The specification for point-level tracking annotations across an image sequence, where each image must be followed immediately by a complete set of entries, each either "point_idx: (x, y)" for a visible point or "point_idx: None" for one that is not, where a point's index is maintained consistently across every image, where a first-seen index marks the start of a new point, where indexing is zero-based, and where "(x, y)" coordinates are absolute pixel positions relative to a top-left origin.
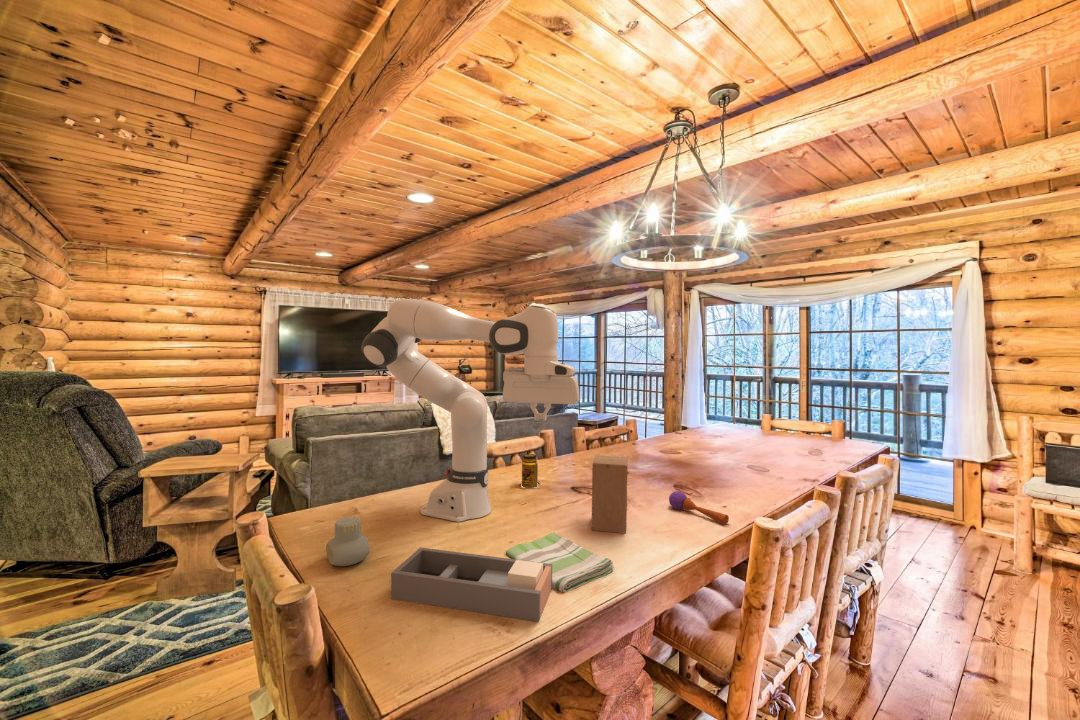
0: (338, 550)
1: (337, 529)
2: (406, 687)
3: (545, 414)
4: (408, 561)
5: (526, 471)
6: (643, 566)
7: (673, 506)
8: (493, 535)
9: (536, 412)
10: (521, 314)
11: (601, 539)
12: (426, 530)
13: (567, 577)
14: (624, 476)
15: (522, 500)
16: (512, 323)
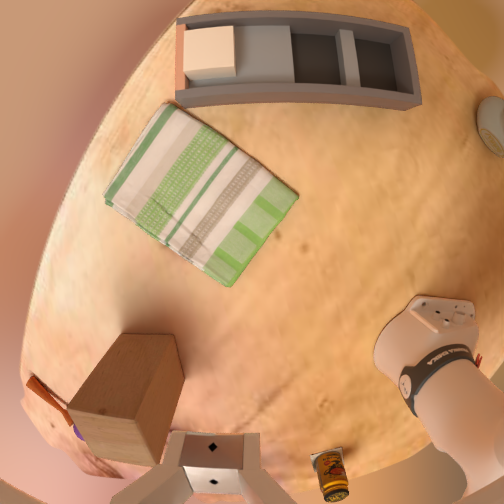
0: (499, 99)
1: None
2: None
3: (166, 467)
4: (409, 57)
5: (337, 471)
6: (75, 227)
7: None
8: (344, 264)
9: (243, 481)
10: None
11: (149, 304)
12: (450, 248)
13: (158, 116)
14: (79, 392)
15: (328, 412)
16: None
